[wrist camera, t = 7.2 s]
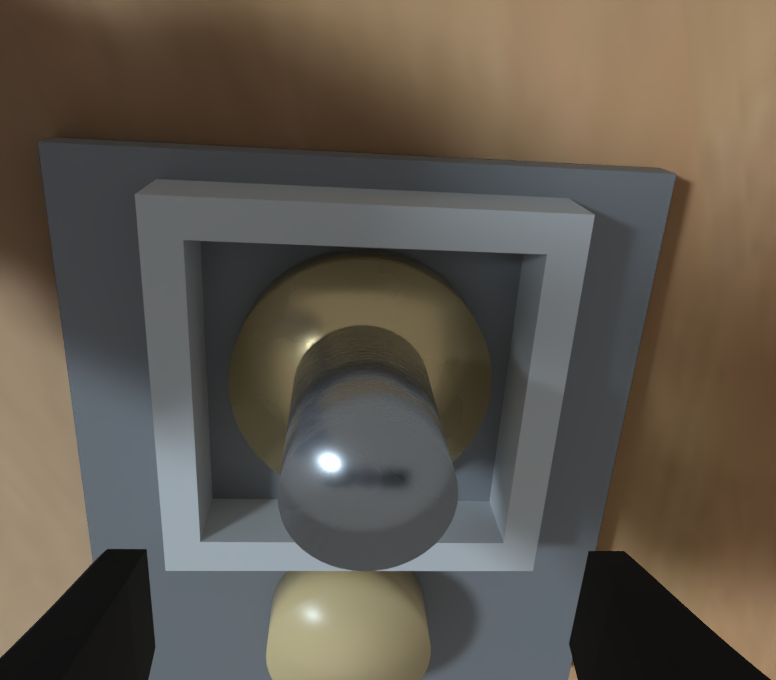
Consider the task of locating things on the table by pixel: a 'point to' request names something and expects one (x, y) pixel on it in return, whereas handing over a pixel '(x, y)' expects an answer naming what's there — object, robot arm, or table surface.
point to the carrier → (260, 483)
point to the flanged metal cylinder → (361, 402)
